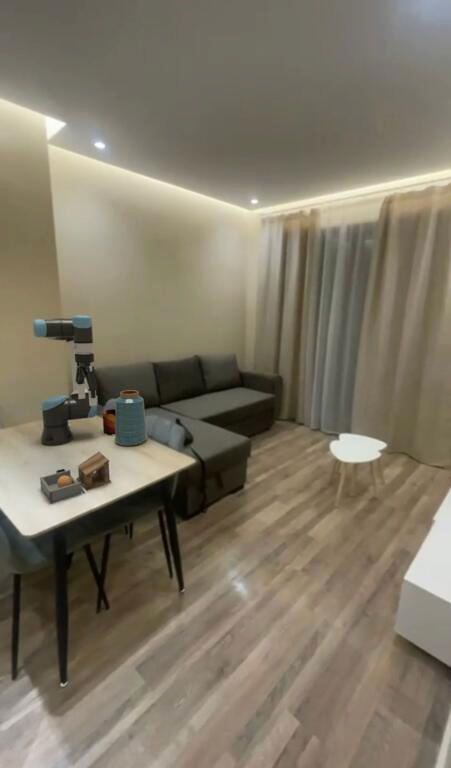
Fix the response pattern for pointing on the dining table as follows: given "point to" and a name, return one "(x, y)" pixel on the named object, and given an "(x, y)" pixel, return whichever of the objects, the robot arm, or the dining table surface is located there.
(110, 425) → the mug
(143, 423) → the vase
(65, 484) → the ball
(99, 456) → the wooden cubby
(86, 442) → the dining table surface
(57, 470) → the dark open box
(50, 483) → the bin
